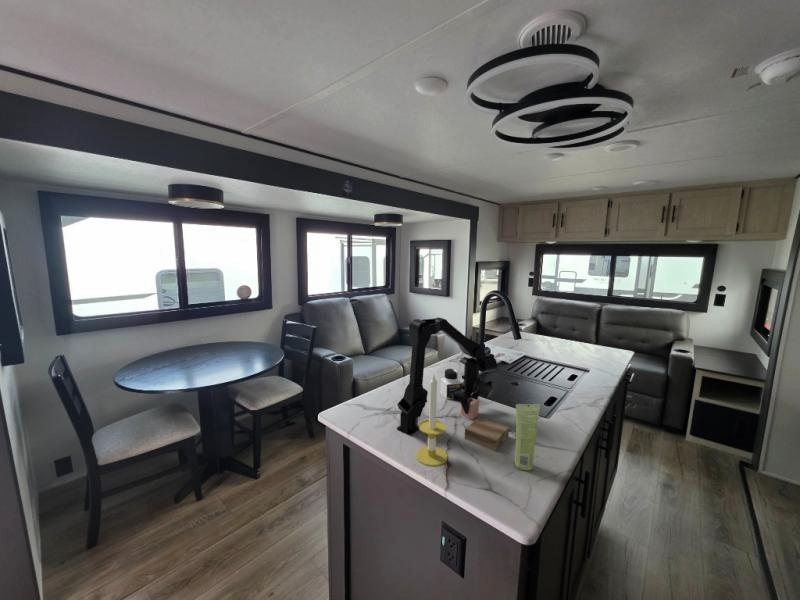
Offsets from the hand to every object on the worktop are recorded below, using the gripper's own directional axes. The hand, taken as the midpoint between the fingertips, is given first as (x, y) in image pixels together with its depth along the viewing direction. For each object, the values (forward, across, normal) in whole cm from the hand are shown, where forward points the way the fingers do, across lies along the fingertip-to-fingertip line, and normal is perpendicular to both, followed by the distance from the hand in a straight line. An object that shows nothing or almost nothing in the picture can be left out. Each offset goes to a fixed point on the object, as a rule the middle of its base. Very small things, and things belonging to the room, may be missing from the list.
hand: (469, 411), depth 126 cm
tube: (+2, -18, -27) cm, 32 cm away
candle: (+2, -32, -3) cm, 32 cm away
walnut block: (+2, -11, -12) cm, 16 cm away
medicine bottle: (+2, +11, +15) cm, 19 cm away
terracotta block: (+2, 0, 0) cm, 2 cm away
